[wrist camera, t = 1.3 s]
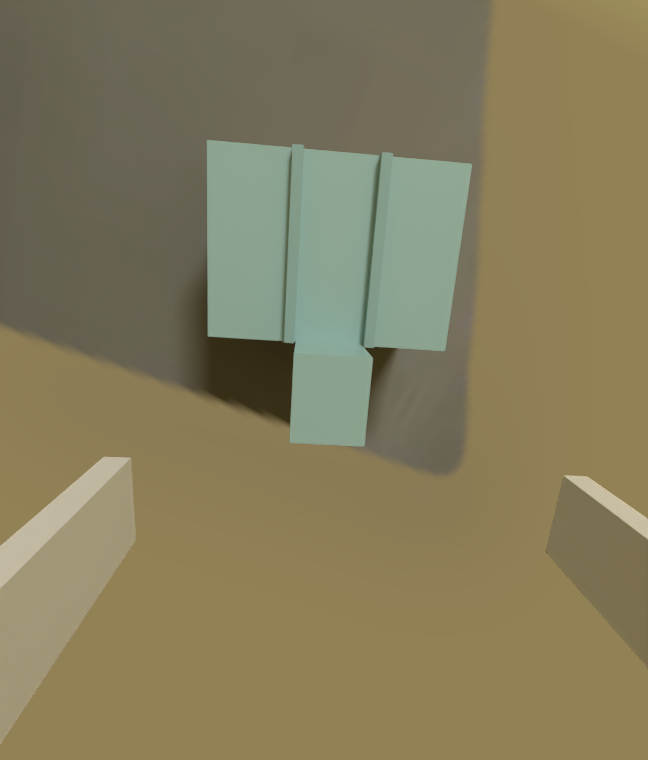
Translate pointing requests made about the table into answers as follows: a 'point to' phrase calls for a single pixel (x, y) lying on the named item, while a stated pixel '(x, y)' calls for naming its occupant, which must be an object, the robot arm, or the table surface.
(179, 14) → the table surface
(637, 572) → the robot arm
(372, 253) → the lid
